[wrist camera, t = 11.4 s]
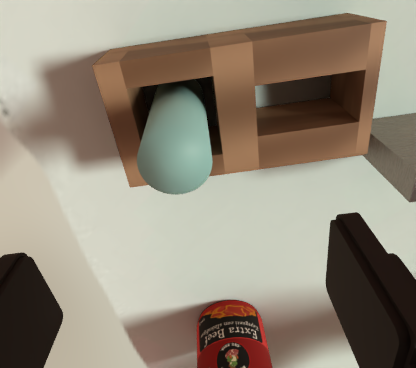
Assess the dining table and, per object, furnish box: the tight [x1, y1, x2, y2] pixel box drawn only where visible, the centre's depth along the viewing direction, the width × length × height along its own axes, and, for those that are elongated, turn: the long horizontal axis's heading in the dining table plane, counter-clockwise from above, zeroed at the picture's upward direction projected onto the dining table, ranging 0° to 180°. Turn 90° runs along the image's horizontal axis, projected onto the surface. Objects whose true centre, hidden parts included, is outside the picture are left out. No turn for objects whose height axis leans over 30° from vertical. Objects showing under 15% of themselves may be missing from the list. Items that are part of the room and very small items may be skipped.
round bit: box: [137, 79, 212, 194], centre depth 20 cm, size 4×4×10 cm
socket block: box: [92, 13, 387, 187], centre depth 22 cm, size 8×16×5 cm, turn 98°
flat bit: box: [363, 113, 416, 202], centre depth 23 cm, size 2×5×8 cm, turn 98°
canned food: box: [197, 300, 272, 368], centre depth 34 cm, size 8×8×11 cm
